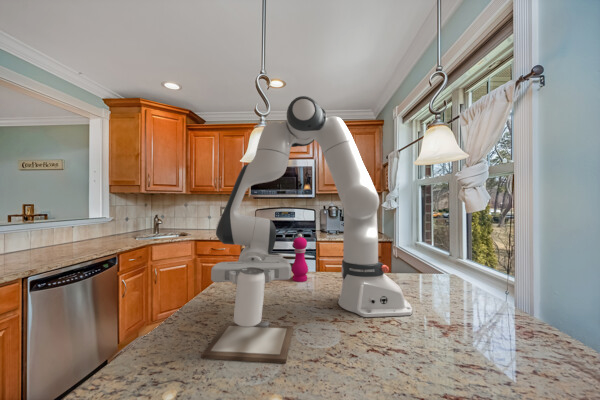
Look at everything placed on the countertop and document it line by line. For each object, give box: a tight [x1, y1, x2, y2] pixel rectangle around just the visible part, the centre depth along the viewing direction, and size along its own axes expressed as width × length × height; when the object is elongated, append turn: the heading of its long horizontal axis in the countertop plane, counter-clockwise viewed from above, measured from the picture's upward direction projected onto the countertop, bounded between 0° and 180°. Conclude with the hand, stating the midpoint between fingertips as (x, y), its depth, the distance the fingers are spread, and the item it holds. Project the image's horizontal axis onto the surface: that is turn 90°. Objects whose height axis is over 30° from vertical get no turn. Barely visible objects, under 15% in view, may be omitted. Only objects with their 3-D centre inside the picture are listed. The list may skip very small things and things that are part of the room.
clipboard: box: [200, 321, 294, 364], centre depth 59 cm, size 18×14×2 cm
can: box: [233, 267, 266, 327], centre depth 59 cm, size 6×6×12 cm
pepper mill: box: [291, 233, 309, 283], centre depth 108 cm, size 7×7×20 cm
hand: (252, 279), depth 58 cm, fingers closed on can, 6 cm apart
